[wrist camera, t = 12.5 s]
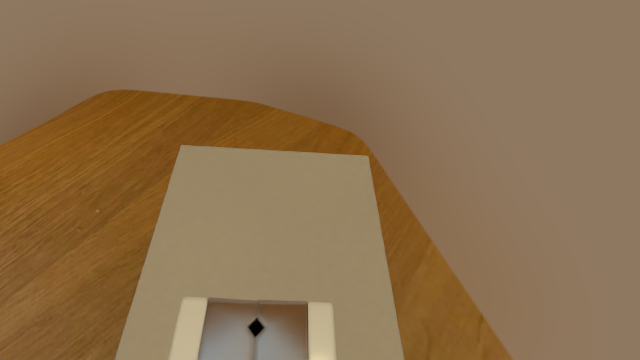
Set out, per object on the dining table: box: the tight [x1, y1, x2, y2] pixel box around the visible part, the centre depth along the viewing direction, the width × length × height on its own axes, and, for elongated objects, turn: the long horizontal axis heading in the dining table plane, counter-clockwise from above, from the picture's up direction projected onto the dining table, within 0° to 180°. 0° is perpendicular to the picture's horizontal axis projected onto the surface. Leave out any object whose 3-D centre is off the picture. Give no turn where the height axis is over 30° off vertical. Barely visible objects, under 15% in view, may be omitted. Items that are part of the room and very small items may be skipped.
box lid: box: [114, 145, 404, 360], centre depth 30 cm, size 17×13×1 cm
